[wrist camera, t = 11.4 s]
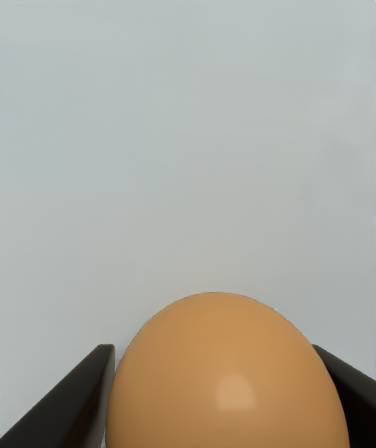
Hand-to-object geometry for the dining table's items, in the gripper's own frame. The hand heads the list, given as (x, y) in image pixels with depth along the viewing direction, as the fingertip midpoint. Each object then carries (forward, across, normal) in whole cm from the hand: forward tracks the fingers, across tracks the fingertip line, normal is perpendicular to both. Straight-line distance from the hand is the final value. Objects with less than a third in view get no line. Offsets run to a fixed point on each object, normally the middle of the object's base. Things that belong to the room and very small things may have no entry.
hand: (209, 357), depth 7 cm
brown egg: (-2, 0, 0) cm, 2 cm away
